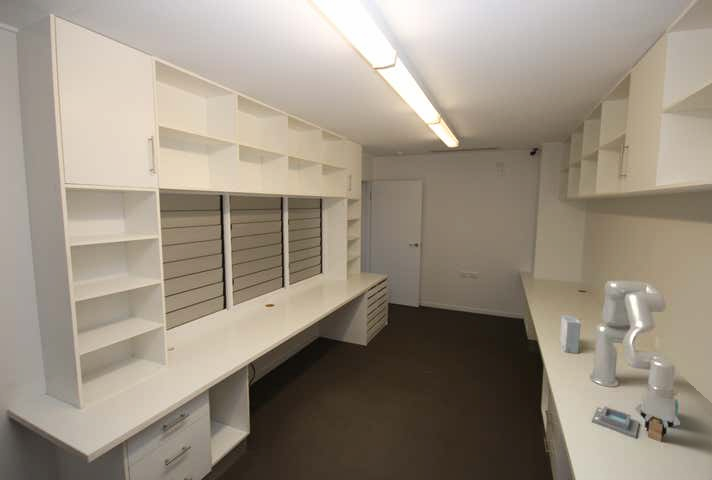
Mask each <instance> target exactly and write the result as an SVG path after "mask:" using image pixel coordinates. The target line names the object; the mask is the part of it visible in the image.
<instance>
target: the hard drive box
mask: <svg viewBox="0 0 712 480" xmlns="http://www.w3.org/2000/svg"><path fill="white" fill-rule="evenodd" d="M581 325H582V324H581V322H580V321H579V320H578V319H577V317H575V315H567V314H564V315H563V314H562V315H561V321H560V334H559V344H560V346H561V347H562V349H563V351H564V352H565V353H572V354H579V346H580V337H581Z"/></svg>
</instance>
